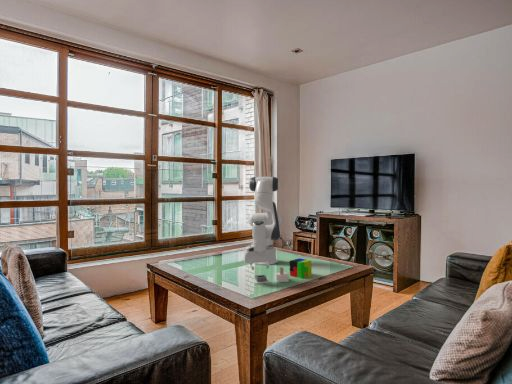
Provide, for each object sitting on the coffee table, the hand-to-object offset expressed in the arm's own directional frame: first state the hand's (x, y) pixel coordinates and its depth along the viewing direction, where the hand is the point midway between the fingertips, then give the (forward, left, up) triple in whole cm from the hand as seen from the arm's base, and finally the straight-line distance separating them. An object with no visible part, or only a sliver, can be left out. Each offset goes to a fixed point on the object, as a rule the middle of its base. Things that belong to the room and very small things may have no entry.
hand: (260, 269), depth 209 cm
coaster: (+1, 0, -8) cm, 8 cm away
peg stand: (+3, +13, -8) cm, 15 cm away
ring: (+1, 0, -7) cm, 7 cm away
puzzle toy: (-4, +28, -8) cm, 29 cm away
